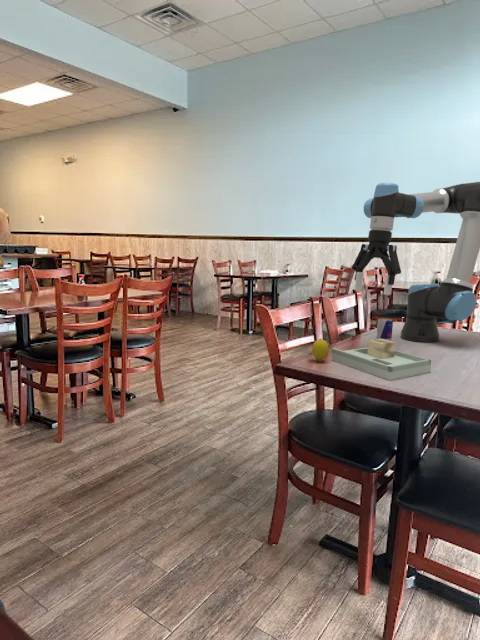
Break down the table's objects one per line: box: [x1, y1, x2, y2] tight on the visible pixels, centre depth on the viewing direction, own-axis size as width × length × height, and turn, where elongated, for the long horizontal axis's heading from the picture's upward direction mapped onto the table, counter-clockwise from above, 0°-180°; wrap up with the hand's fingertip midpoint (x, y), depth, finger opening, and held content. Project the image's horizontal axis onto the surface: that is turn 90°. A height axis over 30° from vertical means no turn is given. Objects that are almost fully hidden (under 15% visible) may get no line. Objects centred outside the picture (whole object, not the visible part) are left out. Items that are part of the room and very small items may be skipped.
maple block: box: [367, 338, 396, 359], centre depth 150 cm, size 6×6×5 cm
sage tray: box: [330, 346, 432, 381], centre depth 147 cm, size 18×26×4 cm
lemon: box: [311, 338, 330, 362], centre depth 151 cm, size 6×6×8 cm
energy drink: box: [375, 318, 394, 342], centre depth 165 cm, size 5×5×12 cm
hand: (371, 292), depth 155 cm, fingers open, 13 cm apart
